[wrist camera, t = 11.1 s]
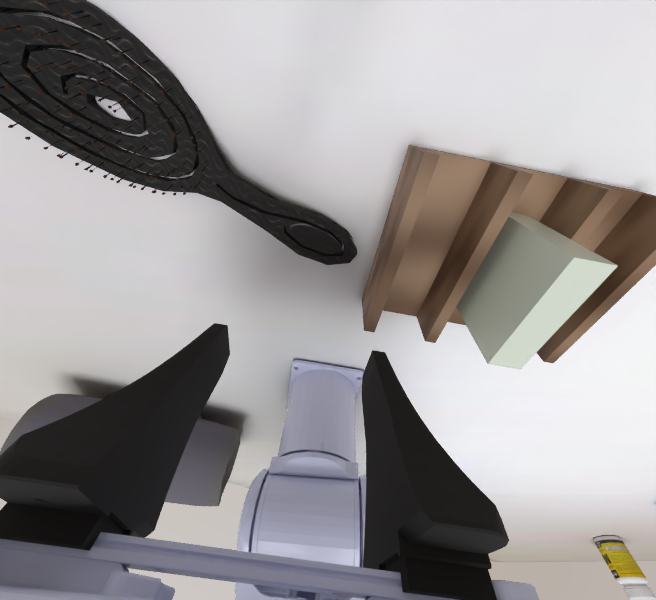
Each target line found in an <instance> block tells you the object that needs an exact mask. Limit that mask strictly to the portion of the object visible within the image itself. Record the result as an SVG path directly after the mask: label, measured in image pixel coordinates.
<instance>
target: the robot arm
mask: <svg viewBox="0 0 656 600" xmlns="http://www.w3.org/2000/svg"><path fill="white" fill-rule="evenodd" d="M229 355H230V350H229V338H228V326H227V325H222V324H216V323H215V324H213V325H212V326H211V327H209V328H208V329H207V330H206V331H204V332H203V333H202V334H201V335H200V336H198V337H197V338H196V339H195V340H193V341H192V342H191V343H190V344H188V345H187V346H186V347H184V348H183V349H182V350H181V351H179V352H178V353H177V354H175V355H174V356H173V357H171V358H170V359H168V360H167V361H165V362H164V363H163V364H161V365H160V366H158V367H157V368H155V369H154V370H152V371H151V372H149V373H148V374H146V375H145V376H143V377H141V378H140V379H138V380H136V381H135V382H133V383H131V384H130V385H128V386H126V387H124V388H123V389H121V390H119V391H117V392H115V393H113V394H112V395H110V396H108V397H106V398H104V399H102V400H100V401H98V402H96V403H94V404H92V405H90V406H88V407H86V408H84V409H82V410H79V411H77V412H75V413H73V414H71V415H69V416H66V417H64V418H62V419H60V420H57V421H55V422H52V423H50V424H48V425H45V426H43V427H40V428H38V429H36V430H33V431H31V432H28V433H26V434H23V435H21V436H20V437H19V438H18V439H17V440H16V441H15V442H14V443H13V444H12V445H11V446H9V447H8V448H7V449H6V450H5V451H4V452H3V453H2V454H1V455H0V498H1V499H3V500H5V501H6V502H7V504H6V505H5V506H4V507H3V508H2V509H1V510H0V600H172V598H173V596H174V593H175V589H174V588H172V587H169V586H167V585H164V584H163V583H162V582H161V579H158V578H153V577H147V576H143V575H139V574H134V573H129V570H128V568H132V569H139V570H147V571H154V572H162V573H170V574H178V575H185V576H192V577H201V578H208V579H215V580H224V581H231V582H236V584H235V594H236V599H235V600H539V598H538V595H537V593H536V590H535V588H534V586H532V585H531V584H526V583H519V582H512V581H505V580H491V578H490V575H489V572H488V569H491V562H490V559H489V556H488V554H489V553H491V552H494V551H496V550H498V549H501V548H503V547H505V546H506V545H507V543H508V541H509V539H508V536H507V533H506V531H505V528H504V525H503V522H502V519H501V517H500V515H499V512H498V510H497V508H496V506H495V504H494V503H493V502H492V501H491V500H490V499H489V498H488V497H487V496H486V495H485V494H484V493H483V492H482V491H481V490H480V489H479V488H478V487H477V486H476V485H475V484H474V483H473V482H472V481H471V480H470V479H469V478H468V477H467V476H466V475H465V474H464V472H463V471H462V470H461V469H460V468H459V467H458V466H457V465H456V464H455V462H454V461H453V460H452V459H451V458H450V456H449V455H448V454H447V453H446V451H445V450H444V449H443V448H442V447H441V445H440V444H439V443H438V442H437V440H436V439H435V438H434V436H433V435H432V434H431V432H430V431H429V429H428V428H427V427H426V425H425V424H424V422H423V421H422V419H421V418H420V416H419V415H418V413H417V412H416V410H415V409H414V407H413V405H412V404H411V402H410V400H409V399H408V397H407V395H406V393H405V392H404V390H403V388H402V386H401V384H400V382H399V380H398V379H397V377H396V375H395V373H394V371H393V368H392V366H391V364H390V362H389V360H388V358H387V356H386V354H385V352H379V351H372V353H371V356H370V358H369V361H368V363H367V366H366V368H365V371H362V370H356V369H350V368H344V367H338V366H332V365H326V364H320V363H314V362H308V361H302V360H294V361H293V362H292V369H291V377H290V385H289V393H288V401H287V409H288V410H287V415H286V419H285V424H284V429H283V434H282V438H281V443H280V448H279V452H278V457H272V460H271V464H270V469H263V470H262V471H261V472H260V473H259V475H258V476H257V477H256V478H255V479H254V480H253V482H252V484H251V486H250V488H249V490H248V493H247V496H246V499H245V502H244V506H243V510H242V514H241V519H240V525H239V531H238V540H237V550H230V549H222V548H215V547H207V546H200V545H193V544H186V543H177V542H171V541H164V540H156V539H149V538H145V537H146V536H148V535H149V534H150V533H151V532H152V531H154V530H155V527H156V524H157V521H158V518H159V515H160V512H161V510H162V507H163V504H164V501H165V499H166V496H167V493H168V490H169V488H170V485H171V482H172V480H173V477H174V475H175V472H176V469H177V467H178V464H179V462H180V459H181V457H182V454H183V452H184V450H185V447H186V445H187V442H188V440H189V438H190V435H191V433H192V431H193V428H194V426H195V424H196V422H197V420H198V418H199V416H200V414H201V412H202V410H203V408H204V406H205V404H206V403H207V401H208V399H209V397H210V395H211V393H212V392H213V390H214V388H215V386H216V384H217V382H218V380H219V379H220V377H221V375H222V373H223V370H224V368H225V365H226V363H227V360H228V358H229ZM361 384H362V404H363V415H364V426H365V437H366V477H365V476H359V483H358V463H356V445H355V399H356V397H357V394H358V391H359V389H360V386H361Z"/></svg>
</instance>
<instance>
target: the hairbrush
mask: <svg viewBox="0 0 656 600" xmlns="http://www.w3.org/2000/svg"><path fill="white" fill-rule="evenodd" d="M22 12H43V13H46V14H49V15H52V16H55V17H59V18H62V19H65V20H68V21H71V22H73V23H75V24H77V25H79V26H81V27H82V29H80V28H77V27H74V26H71V25H68V24H65V23H62V22H59V21H56V20H54V19H51V18H48V17H43V16H32V15H22V14H11V13H22ZM117 22H118V21H117ZM117 22H116V21H115V19H114V20H113V19H112V17H110V16H109V15H107V14H106V13H104V12H103V11H102V10H100V9H99V8H98V7H97V6H95V5H93V4H91V3H89V2H87V1H86V0H0V112H1V113H2V114H4V115H6V116H7V117H9V118H10V119H12V120H13V121H15V122H16V123H17V124H20V125H21V126H23V127H24V128H26V129H27V130H29V131H30V132H32V133H33V134H35V135H37V136H38V137H40V138H41V139H43V140H44V141H46V142H47V143H49V144H51V145H52V146H54V147H56V148H58V149H60V150H62V151H65V152H67V153H66V154H65V155H67V154H68V153H69V154H71V155H73V156H75V157H77V158H79V159H81V160H84V161H86V162H88V163H90V164H92V165H94V166H96V168H97V167H98V168H100V169H102V170H105V171H107V172H109V174H110V173H111V174H113V175H115V177H116V176H117V177H119V178H121V179H120V180H122V179H124V180H127V181H130V182H134V183H137V184H141V185H144V187H143V188H141V190H144V188H145V187H146V186H148V187H151V188H155V190H156V189H158V190H162V191H173V192H184V193H183V195H184V194H186V192H191V193H199V194H202V195H204V196H207V197H210V198H213V199H215V200H218V201H221V202H223V203H224V204H226V205H227V206H229V207H230V208H232V209H233V210H235V211H237V212H238V213H240V214H241V215H243V216H244V217H246V218H247V219H249V220H250V221H252V222H254V223H255V224H257V225H258V226H260V227H261V228H263V229H264V230H266V231H267V232H269V233H270V234H271V235H273V236H274V237H275V238H277V239H278V240H279V241H281V242H282V243H284V244H285V245H286V246H288V247H289V248H290V249H292V250H293V251H294V252H296V253H297V254H299V255H301V256H304V257H307V258H310V259H312V260H315V261H318V262H321V263H323V264H326V265H333V264H343V263H350V262H351V261H352V259H353V258H354V257H355V256H356V255H357V249H356V247H355V245H354V243H353V242H352V240H351V238H352V237H351V235H350V234H349V233H348V231H347V230H346V229H344V228H342V227H341V226H339V225H338V224H336V223H335V222H333V221H331V220H330V219H328V218H326V217H325V216H323V215H321V214H319V213H316V212H313V211H310V210H307V209H304V208H301V207H298V206H296V205H293V204H290V203H287V202H284V201H281V200H279V199H277V198H275V197H274V196H272V195H270V194H268V193H267V192H265V191H263V190H261V189H260V188H258V187H256V186H254V185H252V184H251V183H249V182H247V181H245V180H244V179H242V178H240V177H238V176H237V175H235V174H233V172H232V170H231V169H230V167H229V165H228V164H227V162H226V160H225V159H224V157H223V155H222V154H221V152H220V150H219V149H218V147H217V146H216V144H215V142H214V140H213V138H212V136H211V134H210V132H209V130H208V128H207V126H206V123H205V121H204V119H203V117H202V118H201V117H200V115H199V113H198V112H197V110H196V108H195V106H194V105H193V103H194V101H193V100H192V99H191V97H190V96H189V95H187V92H186V91H185V90H184V88H183V86H182V85H181V83H180V82H179V80H178V79H177V78H176V77H175V76H174V75H173V74H172V73H171V72H170V71H169V70H168V69H167V68H166V67H165V66H164V65H163V63H162V62H161V61H160V60H159V59H158V58H157V57H156V56H155V55H154V54H153V53H152V52H151V51H150V50H149V49H148V48H147V47H146V46H145V45H144V44H143V43H142V42H141V41H140V40H139V39H138V38H137V37H135V36H134V35H133V34H132V33H130V32H129V31H128V30H127V29H125V28H124V27H123V26H121V25H120V24H119V23H117ZM83 29H87V30H89V31H91V32H93V33H95V34H97V35H99V36H101V37H103V38H105V39H103V38H102V39H100V38H98V37H96V36H95V35H93V34H91V33H89V32H87V31H85V30H83ZM106 40H109V41H111V42H112V43H113V44H114V45H115V46H117V47H118V48H119V49H120V50H122V51H123V52H120V51H118V50H117V49H115V48H114V47H112V46H111V45H109V44H108V42H107V41H106ZM46 47H48V48H59V49H70V50H75V51H76V52H78V53H79V52H80V53H82V54H85V55H87V56H90V57H92V58H94V59H97V60H93V61H91V60H90V59H88V58H87V59H86V58H85V57H83V56H81V55H78V54H76V53H71V52H68V51H65V50H56V49H52V50H42V49H43V48H46ZM41 50H42V51H41ZM123 53H125V54H127V55H128V56H129V57H130V58H131V59H133V60H134V61H135V62H136V63H138V64H139V65H140V66H141V67H143V68H144V69H145V70H146V71H147V72H149V73H150V74H151V75H152V76H154V77H155V78H156V79H157V80H158V81H159V83H160V84H161V85H162V87H163V88H164V89H163V88H162V87H161V86H160V85H159V84H158V83H157V82H156V81H155V80H154V79H153V78H152V77H151V76H150V75H149V74H148V73H147V72H146V71H144V70H143V69H142V68H141V67H140V66H138V65H137V64H136V63H135V62H134V61H132V60H131V59H130V58H129V57H128V56H126V55H125V54H123ZM98 60H99V61H102V62H104V64H105V63H106V64H108V65H110V66H111V67H112V68H114V69H115V70H116V71H118V72H119V73H121V74H122V75H123V76H125V77H126V78H127V79H129V80H127V79H125V78H124V77H122V76H121V75H119V74H118V73H117V72H115V70H111V69H110V68H108V67H106V66H104V64H103V63H101V64H99V63H97V62H98ZM75 75H84V76H88V77H87V78H88V79H84V78H78V77H74V76H75ZM91 78H94V79H96V80H97V81H94V80H90V79H91ZM130 81H131V82H133V83H134V84H136V85H137V86H138V87H137V86H136V85H134V84H133V83H131V82H130ZM100 82H102V83H104V84H106V85H108V86H106V85H104V84H101V83H100ZM109 86H110V88H109ZM111 87H112V88H113V89H112V88H111ZM139 87H140V88H141V89H142V90H144V91H145V92H146V93H148V94H149V95H150V96H152V97H153V98H155V100H156V101H157V102H156V101H154V100H153V99H152V98H151V97H150V96H148V95H147V94H146V93H145V92H144V91H142V90H141V89H140V88H139ZM114 89H116V90H118V91H120V92H122V93H124V94H126V95H127V96H128V97H129V98H130V99H131V100H132V101H133V102H134V103H135V104H134V103H133V102H132V101H131V100H130V99H129V98H128V97H127V96H126V95H124V94H122V93H120V92H118V91H116V90H114ZM165 90H166V91H165ZM95 96H98V97H102V98H101V99H99V100H98V101H100V102H101V100H103V99H104V98H105V99H109V100H113V101H116V102H118V103H119V104H120V105H121V106H122V107H121V108H123V109H124V110H125V112H126V113H127V114H128V116H129V117H130V118H131V120H132V121H127V120H123V119H120V118H116V117H112V116H110V115H111V114H110V115H109V114H107V113H106V111H104V110H103V109H102V108H101V107H99V106H98V105H96V104H97V103H96V104H95V103H94V102H92V97H93V99H94V101H95ZM189 97H190V98H189ZM190 99H191V100H192V101H193V103H192V101H191V100H190ZM95 102H96V101H95ZM118 103H116V104H118ZM136 104H137V105H138V106H139V107H140V108H141V109H142V110H143V111H144V112H143V111H142V110H141V109H140V108H139V107H138V106H137V105H136ZM194 104H195V103H194ZM114 105H115V104H114ZM195 105H196V104H195ZM196 107H197V106H196ZM108 108H112V107H111V106H108ZM119 109H120V108H119ZM117 110H118V109H117ZM181 110H182V111H181ZM198 110H199V109H198ZM113 112H114V113H115V112H116V110H113ZM199 112H200V111H199ZM200 114H201V113H200ZM86 116H87V117H86ZM201 116H202V115H201ZM91 119H92V120H91ZM98 122H99V123H98ZM17 124H14V125H10V126H8V127H9V128H12V127H13V126H15V125H17ZM105 126H106V127H105ZM107 127H108V128H107ZM174 127H175V128H174ZM112 129H115V130H119V131H123V132H126V133H130V134H141V133H142V132H144V131H145V130H146V129H148V133H149V134H147V135H144V136H141V137H137V136H129V135H124V134H122V132H117V131H115V130H112ZM175 130H176V131H175ZM89 133H90V134H89ZM91 134H92V135H91ZM93 135H94V136H93ZM33 136H34V135H33ZM95 136H96V137H95ZM31 137H32V136H31ZM97 137H98V138H97ZM25 139H28V140H29V139H30V137H26V138H25ZM196 140H197V141H196ZM110 143H111V144H110ZM112 144H113V145H112ZM51 145H50V146H51ZM114 145H115V146H114ZM118 146H119V147H121V148H124V149H126V150H127V151H126V150H124V149H121V148H119V147H118ZM177 146H178V151H179V152H178V151H176V149H177ZM48 147H49V146H48ZM48 147H44V149H47V148H48ZM128 151H132V152H134V153H131V152H128ZM175 151H176V152H177V153H175ZM65 152H64V153H65ZM136 153H137V154H140V155H143V156H145V157H142V156H138V155H135V154H136ZM172 153H175V154H174V155H172V156H170V157H168V158H167V159H162V160H158V161H156V160H153V159H149V158H150V157H160V156H165V155H169V154H172ZM62 154H63V153H62ZM65 155H63V156H62V155H61V156H60V154H59V155H57V157H59V158H63V157H64V156H65ZM103 156H104V157H103ZM146 157H148V158H146ZM81 162H82V161H81ZM75 165H76V166H77V165H79V163H76V164H75ZM92 165H91V166H92ZM91 166H90V167H91ZM126 166H128V167H126ZM90 167H88V168H90ZM129 167H131V168H129ZM88 168H86V169H84V170H88ZM132 168H133V169H132ZM134 169H137V170H140V171H143V172H146V173H147V174H145V173H143V172H140V171H137V170H134ZM195 169H196V170H195ZM93 170H94V169H93ZM93 170H90V171H89V172H93ZM194 170H195V172H194V174H193V175H192V176H190V177H186V178H179V177H181V176H183V175H188V174H190V173H191V172H192V171H194ZM148 173H149V174H152V175H149V174H148ZM187 173H188V174H187ZM109 174H107V175H109ZM107 175H104V176H103V177H104V178H106V177H107ZM154 175H155V176H154ZM156 175H157V176H156ZM159 176H164V177H178V178H177V179H179V180H173V179H168V178H164V177H159ZM115 177H114V178H115ZM110 180H114V179H113V178H111V179H110ZM120 180H118V181H117V183H119V182H120ZM134 183H132V184H130V185H129V186H131V187H132V185H133V184H134ZM135 187H136V186H133V188H135ZM155 190H154V191H152V193H156V191H155ZM164 194H165V193H164V192H163V193H162V195H164ZM173 195H174V196H175V195H176V193H174V194H173ZM328 230H329V231H328ZM330 231H331V232H332V233H331V232H330ZM350 237H351V238H350ZM352 239H353V238H352ZM342 243H343V244H344V251H342ZM341 251H342V252H341Z"/></svg>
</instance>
